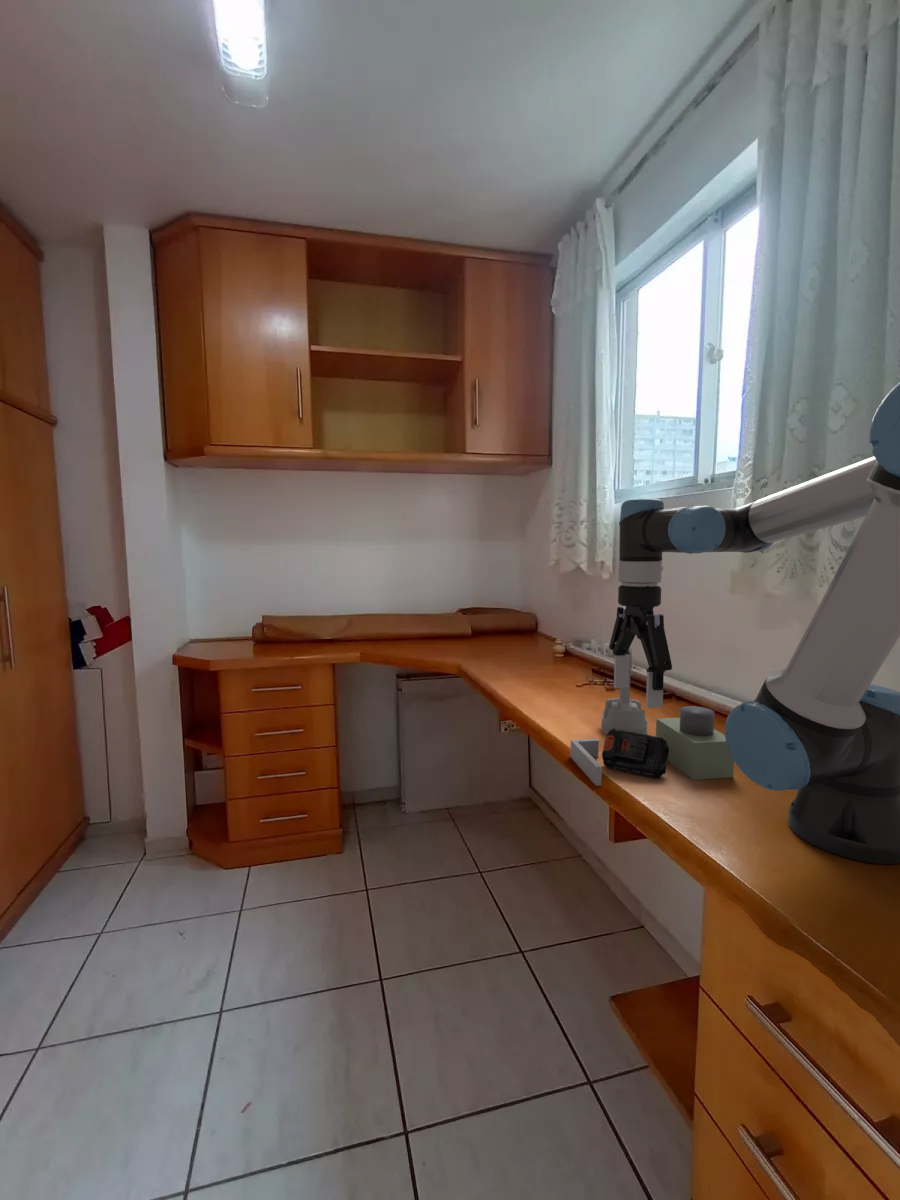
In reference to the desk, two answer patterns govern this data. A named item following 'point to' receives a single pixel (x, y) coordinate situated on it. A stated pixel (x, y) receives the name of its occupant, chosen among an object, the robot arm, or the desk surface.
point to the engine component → (624, 711)
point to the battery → (635, 753)
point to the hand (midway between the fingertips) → (636, 696)
